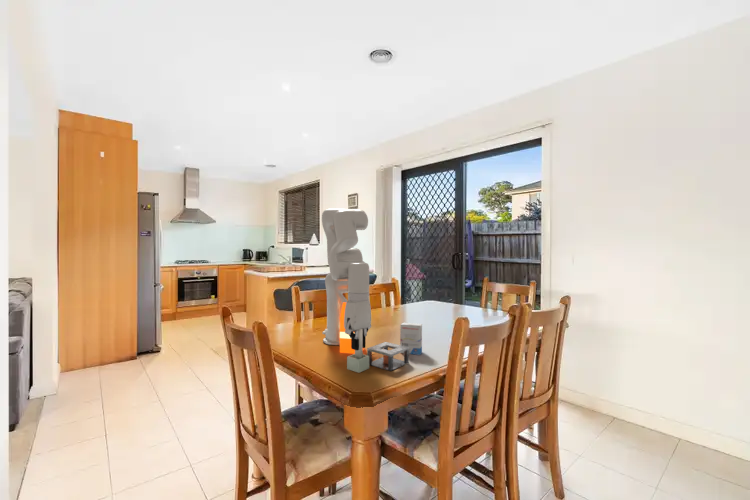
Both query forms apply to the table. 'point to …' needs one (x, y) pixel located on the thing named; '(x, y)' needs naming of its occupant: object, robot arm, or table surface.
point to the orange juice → (344, 335)
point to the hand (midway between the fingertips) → (358, 347)
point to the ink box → (411, 337)
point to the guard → (392, 362)
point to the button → (385, 359)
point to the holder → (357, 363)
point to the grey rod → (359, 352)
